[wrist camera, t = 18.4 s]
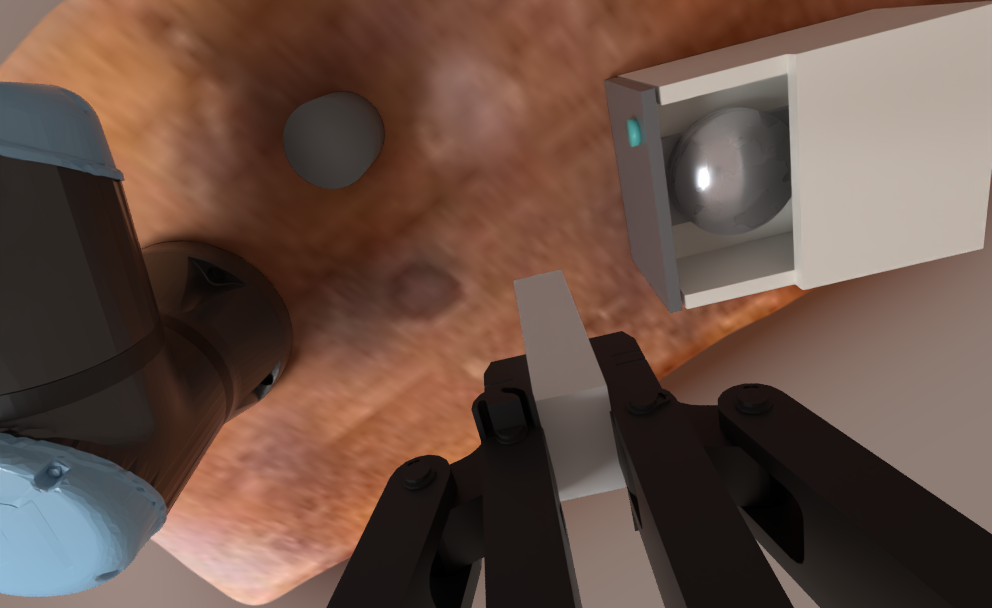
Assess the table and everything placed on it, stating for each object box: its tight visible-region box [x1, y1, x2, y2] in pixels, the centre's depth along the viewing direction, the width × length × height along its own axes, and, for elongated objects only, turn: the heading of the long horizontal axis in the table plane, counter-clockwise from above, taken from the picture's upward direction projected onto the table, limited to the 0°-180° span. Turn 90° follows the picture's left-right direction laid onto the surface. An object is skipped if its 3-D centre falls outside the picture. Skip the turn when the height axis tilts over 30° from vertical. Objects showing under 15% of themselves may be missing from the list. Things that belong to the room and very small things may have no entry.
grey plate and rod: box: [604, 77, 792, 313], centre depth 40 cm, size 18×14×10 cm
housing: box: [618, 1, 992, 309], centre depth 39 cm, size 18×14×12 cm
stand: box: [283, 91, 385, 189], centre depth 40 cm, size 6×6×6 cm
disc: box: [667, 107, 792, 235], centre depth 39 cm, size 8×8×2 cm
